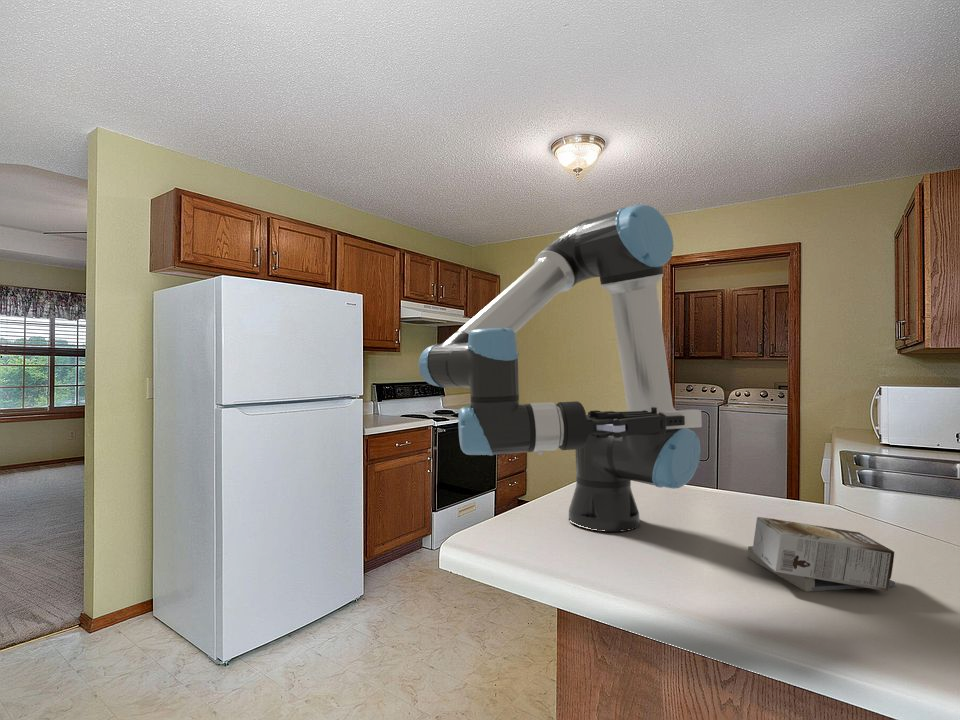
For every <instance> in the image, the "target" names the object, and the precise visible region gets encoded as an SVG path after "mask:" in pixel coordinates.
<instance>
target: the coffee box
mask: <svg viewBox="0 0 960 720" xmlns="http://www.w3.org/2000/svg"><path fill="white" fill-rule="evenodd" d="M754 531H755V532H754V538H753V545H752V546H753V550H752V551H753V553H754V554H756V555H757V556H758V557H759V558H760V559H761V560H762V561H763V562H764V563H765V564H767V565H768V566H769V567H770V568H771V569H772V570H773V571H774V572H778V573H784V574H790V575H796V576H802V577H808V578H814V579H819V580H825V581H831V582H836V583H842V584H848V585H853V586H859V587H865V588H864V589H872V590H877V591H883V592H888V591H889V587H890V586H889V580H892V579H891V578H892V574H893V566H894V559H895V551H894V550H892V549H890V548H888V547H886V546H885V545H883V544H881V543H880V542H877V541H875V540H873V539H872V538H870V537H868V536H866V535H865V534H863V533H861V532H859V531H853V530H852V531H851V530H846V529H839V528H834V527H827V526H821V525H815V524H814V525H813V524H808V523H802V522H795V521H789V520H788V521H787V520H782V519H775V518H771V517H770V518H769V517H763V516H762V517H761V516H757V517H756V523H755V530H754Z"/></svg>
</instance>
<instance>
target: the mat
mask: <svg viewBox="0 0 960 720" xmlns="http://www.w3.org/2000/svg"><path fill="white" fill-rule="evenodd" d="M747 548H748V549H747V554H748V555H747V558H748V559H750V560H751V561H753V562H755V563H756V564H757V565H760V566H762V567H763V568H765V569H767V570H768V571H770V572H771V573H773V574H775V575H777V576H778V577H780V578H781V579H784V580H785V581H786V582H788V583H790V584H791V585H794V586H795V587H797V588H799V589H800V590H802V591H804V592H806V593H807V592H820V591H823V592H824V591H838V590H852V589H853V590H855V589H866V588H865V587H859V586H853V585H848V584H842V583H836V582H831V581H825V580H819V579H814V578H808V577H802V576H796V575H790V574H784V573H778V572H774V571H773V570H772V569H771V568H770V567H769V566H768V565H767V564H765V563H764V562H763V561H762V560H761V559H760V558H759V557H758V556H757V555H756V554H754V553H753V551H752V550H753V545H751V546H750V545H748V546H747ZM889 587H896V581H894V580H892V579H890V580H889Z"/></svg>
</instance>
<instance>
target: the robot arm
mask: <svg viewBox="0 0 960 720" xmlns="http://www.w3.org/2000/svg"><path fill="white" fill-rule="evenodd" d="M673 250H674V237H673V233H672V230H671V228H670V225H669V223H668V221H667V219H666V218H665V217H664V215H663V214H661V213H660V211H659V210H657V208H655V207H653V206H651V205H648V204H637V205H632V206H626V207H622V208H619V209H617V210H613V211H611V212H607V213H603V214H601V215H598V216H596V217H595V216H594V217H592V218H589V219H584V220H582V221H580V222H578V223H576V224H573V226H571V227H569V228H568V229H566V231H564V232H563V233H561V234H560V235H559V236H558V237H556V238H555V239H554V240H553V241H552V242H550V243H549V244H548V245H547V246H546V247H545V248H543V250H541V251H540V252H539V253H538V254H537V255H536V256H535V258H534V262H533V263H534V264H532V266H531V267H529V268H528V269H527V270H526V271H525V272H523V274H521V275H520V276H518V278H517V279H516V280H515V281H513V282H512V283H511V284H510V285H508V287H506V288H505V289H504V290H503V291H502V292H500V293H499V294H497V296H496V297H495V298H494V299H493V300H491V301H490V302H489V303H488V304H487V305H486V306H484V307H483V308H481V310H480V311H479V312H478V313H476V314H475V315H474V316H473V317H472V318H471V319H469V320H468V321H467V322H466V323H465V324H463V325H462V326H461V327H460V328H459V329H458V330H457V331H455V332H454V333H452V335H450V336H449V337H448V338H447V339H445V341H444V342H442V343H436V344H433V345H430V346H428V347H426V348H425V349H424V350H423V351H422V352H421V354H420V356H419V360H418V370H419V371H418V372H419V374H420V376H421V377H422V379H423V381H424V382H426V383H427V384H428V385H432V386H435V387H439V388H444V389H445V388H456V389H457V388H460V389H469V390H470V393H469V394H470V405H467V406H463V407H460V408H459V410H458V415H457V416H458V418H457V419H458V422H457V423H458V424H457V425H458V439H459V441H458V442H459V446H460V450H461V451H462V453H463V454H465V455H468V456H481V455H482V456H486V455H487V456H490V457H491V456H495V455H496V456H497V455H506V454H507V455H511V454H520V453H521V454H522V453H523V454H524V453H532V452H535V453H536V452H537V455H538V456H542V455H543V454H544V451H546V452H550V451H551V452H552V451H554V452H555V451H557V450H558V449H560V450H562V451H573V450H575V472H576V473H575V475H576V476H575V478H576V479H575V480H576V481H575V482H576V485H575V489H574V492H573V494H572V498H571V500H570V501H571V502H570V505H569V508H568V520H569V519H570V520H571V521H572V522H574V523H576V524H578V525H581V526H584V527H588V528H591V529H597V530H605V531H621V530H628V529H632V528H635V527H637V526H638V525H639V526H640V524H639V523H640V521H641V520H640V512H639V509H638V505H637V503H636V499H635V497H634V494H633V491H632V487H631V486H632V485H631V484H632V483H631V482H632V481H633V482H637V483H640V484H641V483H642V484H645V485H650V486H655V487H656V488H668V489H679V488H682V487H684V486H685V485H687V484H688V483H689V482H690V480H692V479H693V477H694V475H695V473H696V472H697V471H696V470H698V467H699V463H700V458H701V442H700V437H699V436H698V435H697V434H696V432H695V431H693V430H692V429H693V428H694V429H695V428H703V426H702V425H703V424H702V421H703V420H702V419H703V418H702V410H701V409H700V410H699V409H697V408H696V409H683V410H681V409H679V410H677V409H675V407H674V405H673V397H672V390H671V389H672V388H671V384H670V375H669V374H670V373H669V369H668V368H669V367H668V359H667V355H666V354H667V351H666V347H665V338H664V332H663V324H662V317H661V309H660V303H659V295H658V284H659V282H660V281H661V280H662V279H663V277H664V269H663V266H665V265H666V264H667V263H668V262H669V261H670V260H671V258H672V252H673ZM593 278H599V282H600V286H601V288H603V289H604V290H606V291H607V292H608V293H609V294H610V301H611V308H612V315H613V321H614V328H615V335H616V340H617V341H616V342H617V348H618V354H619V361H620V368H621V375H622V381H623V383H622V384H623V388H624V395H625V396H624V397H625V403H626V408H627V410H626V411H613V410H608V411H601V410H596V409H595V410H589V411H587V413H586V410H585V407H584V405H583V403H581V402H580V401H577V400H574V401H558V402H557V403H556V404H555V403H554V401H553V402H552V401H550V402H549V401H548V402H530V403H524V404H523V403H522V404H521V403H520V394H519V393H520V391H519V387H520V386H519V358H520V356H519V351H518V344H517V334H516V333H517V332H519V330H521V329H522V327H524V326H525V325H526V324H527V323H528V322H529V321H530V320H531V319H532V318H533V317H534V316H535V315H537V314H538V313H539V312H540V311H541V310H542V309H543V308H544V307H545V306H546V305H547V304H548V303H549V302H551V301H552V300H553V298H555V297H556V296H557V295H559V293H566V292H568V291H570V290H571V289H572V288H573V287H574V286H575V285H577V284H579V283H581V282H584V281H587V280H589V279H593ZM639 526H638V527H639ZM638 527H637V528H638ZM635 529H636V528H635ZM632 530H633V529H632ZM628 531H629V530H628ZM621 532H622V531H621Z"/></svg>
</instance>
